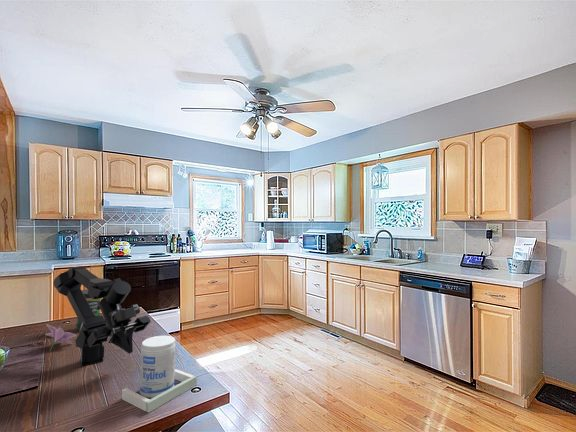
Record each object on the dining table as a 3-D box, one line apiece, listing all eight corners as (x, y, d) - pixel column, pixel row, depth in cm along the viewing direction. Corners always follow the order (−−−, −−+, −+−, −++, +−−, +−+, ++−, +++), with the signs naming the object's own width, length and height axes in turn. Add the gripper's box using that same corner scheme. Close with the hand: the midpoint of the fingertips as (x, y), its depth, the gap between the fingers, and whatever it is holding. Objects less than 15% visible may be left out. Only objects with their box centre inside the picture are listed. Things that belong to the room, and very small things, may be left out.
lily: (77, 351, 122) (84, 326, 127) (43, 348, 114) (52, 321, 119) (62, 354, 128) (70, 330, 133) (29, 352, 120) (39, 326, 125)
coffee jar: (79, 333, 140) (79, 292, 140) (74, 328, 145) (75, 289, 146) (102, 327, 147) (103, 288, 148) (97, 324, 152) (98, 286, 153)
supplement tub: (139, 402, 85) (139, 349, 86) (140, 386, 94) (140, 337, 94) (176, 394, 89) (176, 343, 90) (173, 379, 98) (174, 333, 98)
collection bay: (121, 399, 87) (121, 390, 87) (170, 374, 101) (170, 367, 101) (148, 412, 81) (148, 403, 81) (196, 384, 95) (196, 376, 95)
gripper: (93, 304, 94) (112, 348, 88) (148, 292, 110) (167, 329, 104) (79, 325, 98) (96, 369, 92) (134, 311, 114) (152, 347, 108)
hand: (131, 352), depth 99 cm, fingers closed
